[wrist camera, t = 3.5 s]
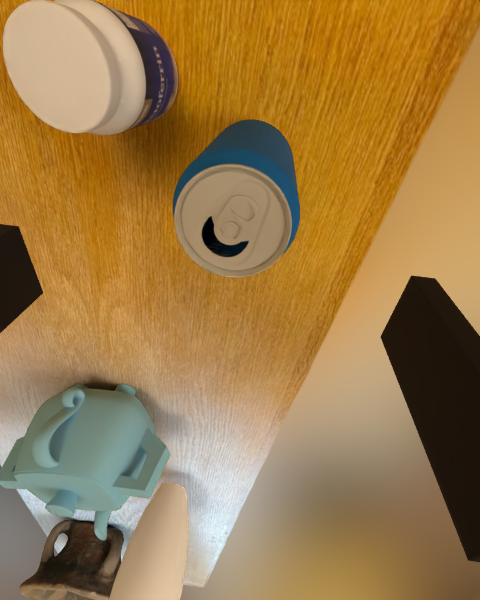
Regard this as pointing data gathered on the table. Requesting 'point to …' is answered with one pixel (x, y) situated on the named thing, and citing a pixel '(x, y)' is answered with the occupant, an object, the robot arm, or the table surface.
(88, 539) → the brown clay pot
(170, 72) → the pill bottle
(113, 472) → the teapot
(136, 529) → the cup
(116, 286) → the table surface
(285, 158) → the beverage can
